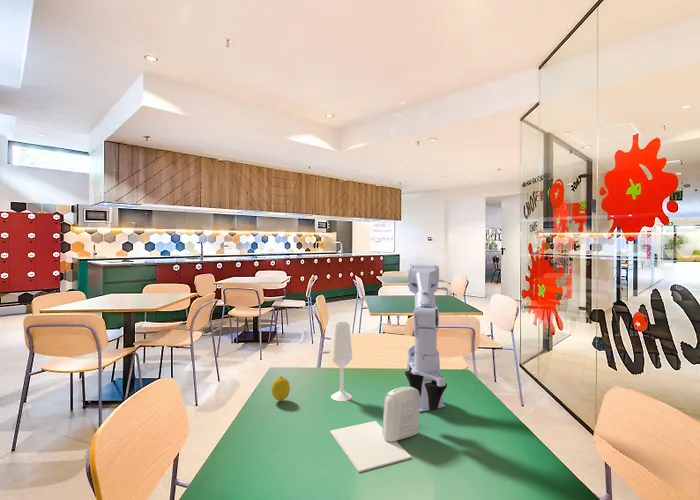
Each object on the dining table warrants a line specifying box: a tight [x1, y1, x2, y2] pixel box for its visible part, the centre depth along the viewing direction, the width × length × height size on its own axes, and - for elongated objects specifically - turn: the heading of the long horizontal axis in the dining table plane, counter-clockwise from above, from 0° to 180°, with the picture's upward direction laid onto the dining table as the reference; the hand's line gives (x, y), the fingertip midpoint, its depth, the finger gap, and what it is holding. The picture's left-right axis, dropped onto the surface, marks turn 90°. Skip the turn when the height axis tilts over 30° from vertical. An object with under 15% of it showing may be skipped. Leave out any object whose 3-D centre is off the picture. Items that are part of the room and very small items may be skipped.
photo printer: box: [382, 386, 420, 442], centre depth 92 cm, size 10×4×12 cm, turn 124°
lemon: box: [271, 375, 291, 402], centre depth 112 cm, size 6×6×8 cm
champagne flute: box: [330, 321, 353, 402], centre depth 116 cm, size 7×7×24 cm
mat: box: [329, 420, 412, 473], centre depth 88 cm, size 14×18×1 cm
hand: (424, 403), depth 95 cm, fingers open, 7 cm apart
